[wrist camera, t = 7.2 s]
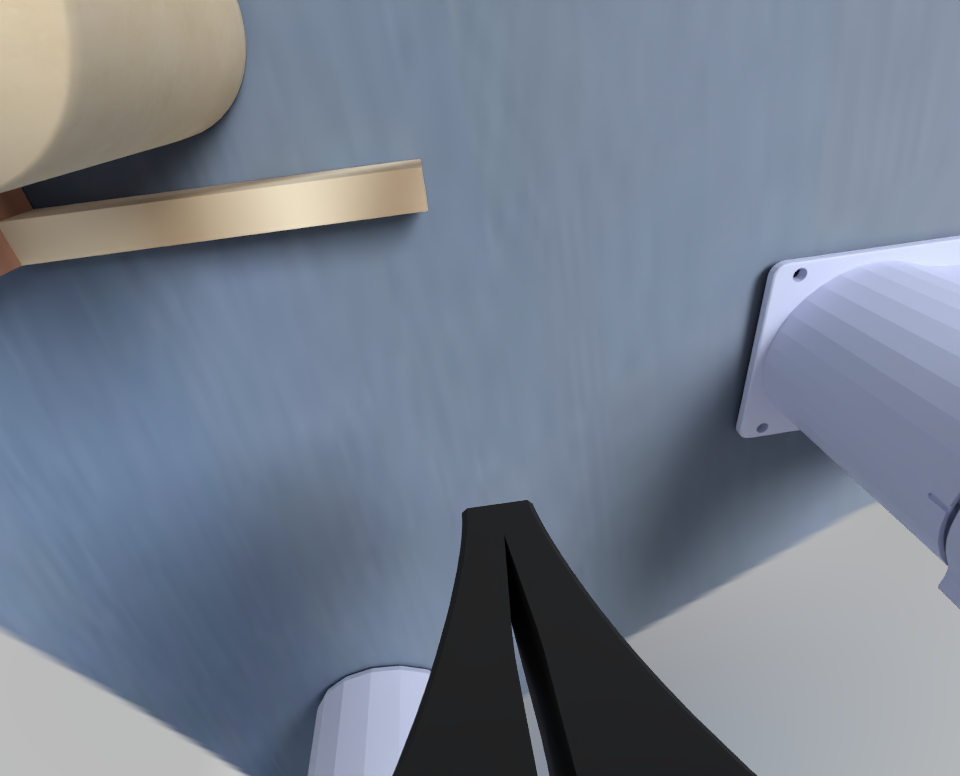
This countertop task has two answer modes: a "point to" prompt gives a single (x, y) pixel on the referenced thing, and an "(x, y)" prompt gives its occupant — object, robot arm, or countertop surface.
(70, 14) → the candle
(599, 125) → the countertop surface
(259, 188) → the channel
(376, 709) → the soap bottle
